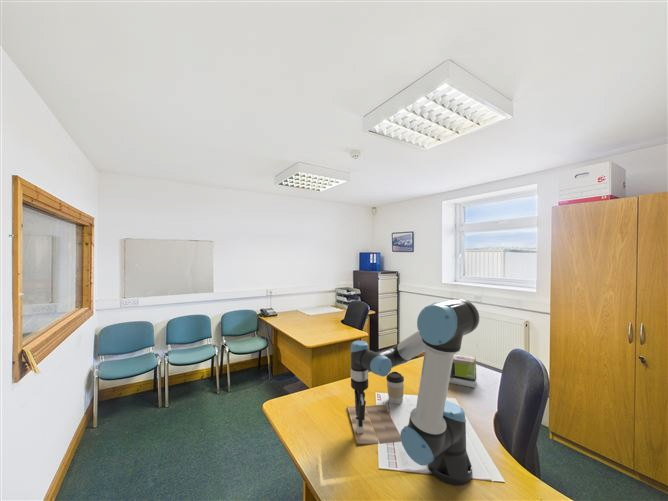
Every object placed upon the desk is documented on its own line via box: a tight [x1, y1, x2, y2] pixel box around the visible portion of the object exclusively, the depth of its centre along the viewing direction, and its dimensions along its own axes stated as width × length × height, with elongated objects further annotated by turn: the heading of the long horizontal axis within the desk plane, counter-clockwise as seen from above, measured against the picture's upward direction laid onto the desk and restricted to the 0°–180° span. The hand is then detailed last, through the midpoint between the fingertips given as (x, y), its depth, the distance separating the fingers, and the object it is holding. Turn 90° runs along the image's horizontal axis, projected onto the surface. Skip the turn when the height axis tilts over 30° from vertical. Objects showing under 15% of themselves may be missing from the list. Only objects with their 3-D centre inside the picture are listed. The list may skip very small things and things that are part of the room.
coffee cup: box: [386, 371, 405, 405], centre depth 149 cm, size 9×9×15 cm
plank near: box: [351, 423, 380, 446], centre depth 123 cm, size 14×9×1 cm, turn 6°
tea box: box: [449, 353, 478, 389], centre depth 170 cm, size 15×10×15 cm
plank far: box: [346, 405, 372, 426], centre depth 137 cm, size 14×9×1 cm, turn 6°
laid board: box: [365, 404, 402, 445], centre depth 131 cm, size 28×10×1 cm, turn 6°
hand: (359, 432), depth 123 cm, fingers closed
